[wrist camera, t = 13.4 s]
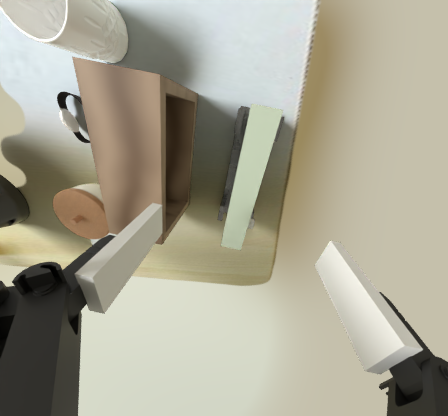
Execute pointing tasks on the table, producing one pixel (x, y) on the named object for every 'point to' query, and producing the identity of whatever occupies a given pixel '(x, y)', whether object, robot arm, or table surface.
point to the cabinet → (138, 141)
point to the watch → (69, 116)
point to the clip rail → (237, 157)
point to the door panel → (250, 172)
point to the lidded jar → (82, 210)
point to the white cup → (72, 25)
